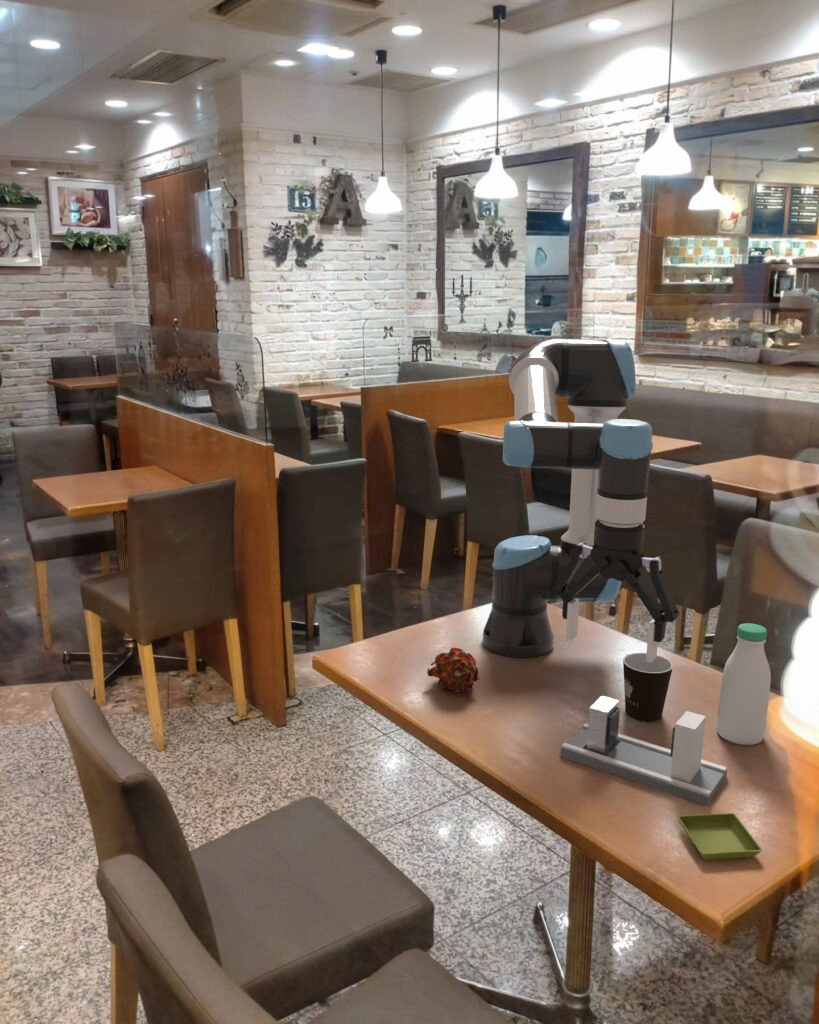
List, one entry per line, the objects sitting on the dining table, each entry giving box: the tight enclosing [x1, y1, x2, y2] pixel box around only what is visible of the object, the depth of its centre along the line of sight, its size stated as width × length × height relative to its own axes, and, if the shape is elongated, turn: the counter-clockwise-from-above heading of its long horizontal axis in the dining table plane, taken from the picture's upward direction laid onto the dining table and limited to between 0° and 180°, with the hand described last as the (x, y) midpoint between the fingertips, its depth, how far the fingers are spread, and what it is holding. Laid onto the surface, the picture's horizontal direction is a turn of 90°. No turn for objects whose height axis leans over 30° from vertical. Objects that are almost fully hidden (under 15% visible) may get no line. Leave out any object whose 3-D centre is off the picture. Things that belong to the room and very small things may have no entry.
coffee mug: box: [622, 652, 674, 723], centre depth 159 cm, size 12×9×10 cm
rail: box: [559, 710, 728, 807], centre depth 140 cm, size 10×24×10 cm, turn 55°
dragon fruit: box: [426, 646, 480, 693], centre depth 167 cm, size 8×8×12 cm
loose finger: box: [587, 695, 621, 756], centre depth 144 cm, size 5×4×9 cm
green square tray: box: [677, 812, 763, 861], centre depth 122 cm, size 9×9×2 cm
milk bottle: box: [716, 622, 772, 746], centre depth 149 cm, size 8×8×20 cm
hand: (610, 648), depth 140 cm, fingers open, 13 cm apart
